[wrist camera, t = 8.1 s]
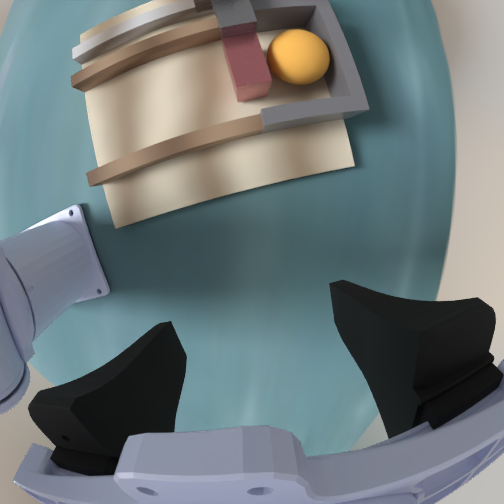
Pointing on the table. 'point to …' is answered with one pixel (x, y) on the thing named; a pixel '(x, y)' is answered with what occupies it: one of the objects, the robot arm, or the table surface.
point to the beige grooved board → (187, 115)
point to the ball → (298, 57)
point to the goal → (337, 75)
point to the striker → (240, 46)
